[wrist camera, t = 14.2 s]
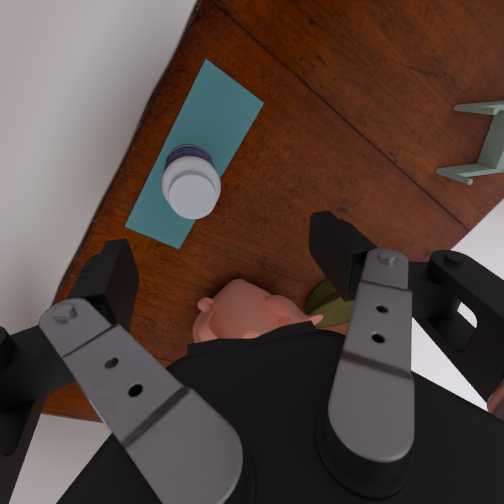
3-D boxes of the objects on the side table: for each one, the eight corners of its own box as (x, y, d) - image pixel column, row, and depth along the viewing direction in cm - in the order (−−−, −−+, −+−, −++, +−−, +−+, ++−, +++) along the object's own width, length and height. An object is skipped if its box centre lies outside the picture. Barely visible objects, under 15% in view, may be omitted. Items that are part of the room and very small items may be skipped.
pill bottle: (155, 153, 30) (146, 180, 22) (202, 134, 30) (209, 154, 22) (178, 197, 33) (177, 236, 25) (221, 180, 33) (234, 213, 25)
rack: (434, 173, 39) (467, 185, 35) (454, 104, 35) (494, 108, 30) (486, 166, 41) (524, 177, 36) (512, 99, 36) (559, 102, 32)
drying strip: (205, 58, 27) (205, 58, 27) (263, 102, 30) (264, 103, 30) (124, 225, 34) (124, 226, 34) (178, 248, 37) (178, 249, 37)
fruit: (324, 251, 42) (346, 277, 37) (384, 267, 47) (411, 293, 41) (292, 309, 47) (307, 339, 42) (348, 318, 51) (369, 347, 46)
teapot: (290, 259, 42) (327, 320, 31) (282, 338, 50) (309, 406, 40) (186, 270, 39) (188, 341, 28) (197, 352, 48) (201, 429, 37)
